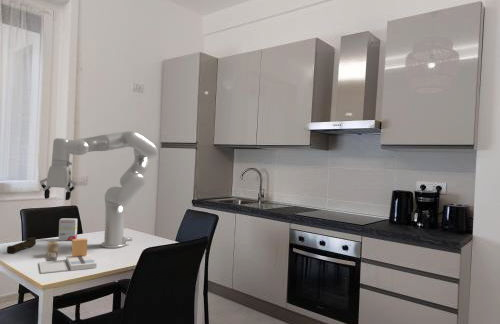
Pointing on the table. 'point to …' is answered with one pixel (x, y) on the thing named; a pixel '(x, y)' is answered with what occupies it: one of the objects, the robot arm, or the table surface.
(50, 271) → the tool mat
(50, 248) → the tan block on stem
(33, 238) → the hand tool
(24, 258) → the table surface
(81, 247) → the slide tab
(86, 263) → the switch housing
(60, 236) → the ink box
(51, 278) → the table surface
